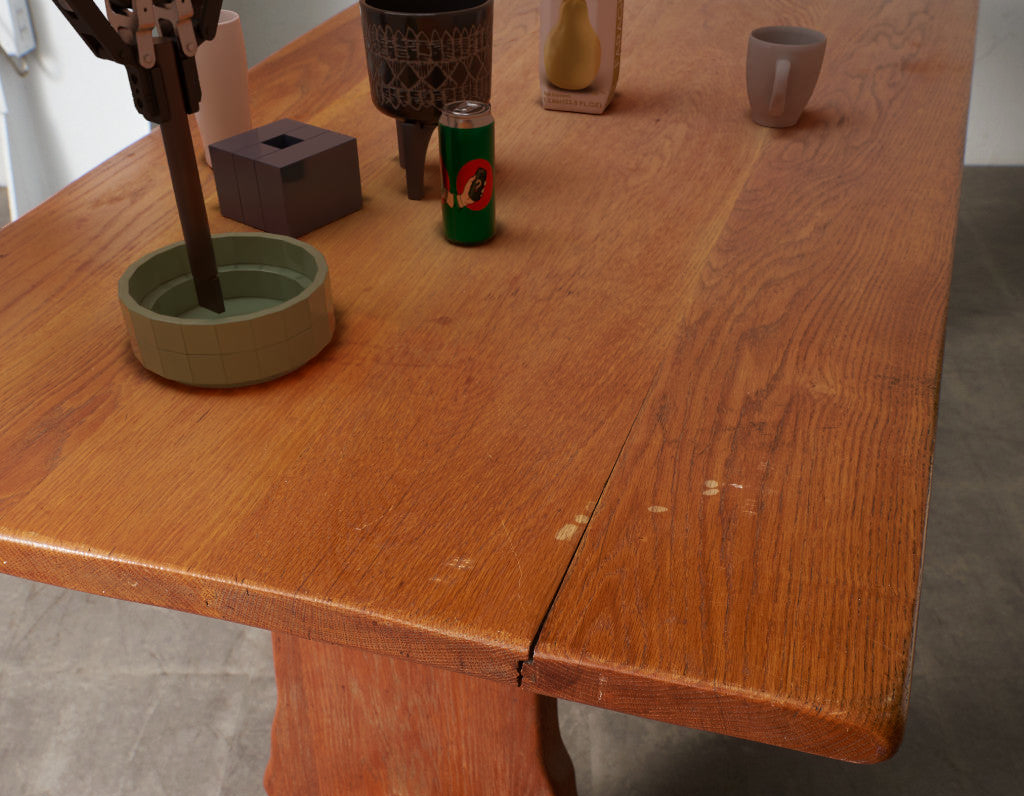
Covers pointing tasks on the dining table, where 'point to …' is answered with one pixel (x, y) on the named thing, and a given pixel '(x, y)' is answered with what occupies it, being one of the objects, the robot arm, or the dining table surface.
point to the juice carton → (579, 53)
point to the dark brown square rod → (187, 182)
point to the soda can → (467, 172)
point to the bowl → (229, 311)
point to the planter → (425, 67)
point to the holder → (287, 177)
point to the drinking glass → (223, 84)
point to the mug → (782, 72)
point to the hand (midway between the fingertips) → (171, 115)
